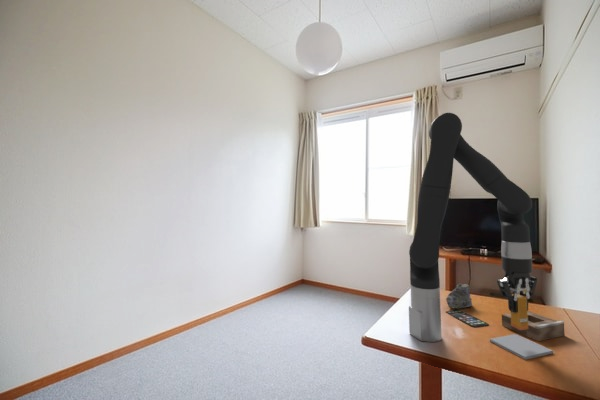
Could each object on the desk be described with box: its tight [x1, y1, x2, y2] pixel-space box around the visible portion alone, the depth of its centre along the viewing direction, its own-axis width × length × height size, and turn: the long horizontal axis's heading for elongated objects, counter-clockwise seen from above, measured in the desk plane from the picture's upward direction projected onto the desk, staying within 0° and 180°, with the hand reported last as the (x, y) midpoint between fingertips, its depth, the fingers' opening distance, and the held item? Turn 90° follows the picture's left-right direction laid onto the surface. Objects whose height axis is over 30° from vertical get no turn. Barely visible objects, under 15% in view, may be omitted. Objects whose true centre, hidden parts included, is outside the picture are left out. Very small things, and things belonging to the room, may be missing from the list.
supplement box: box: [510, 293, 529, 330], centre depth 86 cm, size 3×3×10 cm
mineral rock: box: [445, 282, 473, 309], centre depth 120 cm, size 13×11×10 cm
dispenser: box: [501, 310, 566, 342], centre depth 96 cm, size 12×12×5 cm
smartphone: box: [445, 309, 490, 328], centre depth 108 cm, size 7×1×15 cm
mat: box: [489, 333, 554, 360], centre depth 86 cm, size 11×11×1 cm
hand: (518, 310), depth 86 cm, fingers closed on supplement box, 3 cm apart
